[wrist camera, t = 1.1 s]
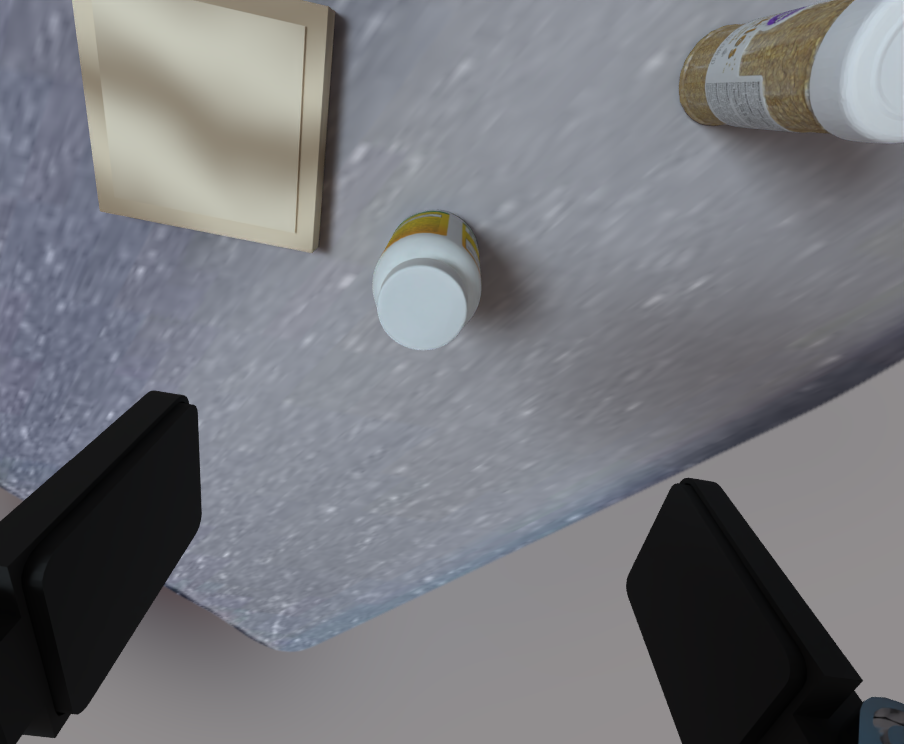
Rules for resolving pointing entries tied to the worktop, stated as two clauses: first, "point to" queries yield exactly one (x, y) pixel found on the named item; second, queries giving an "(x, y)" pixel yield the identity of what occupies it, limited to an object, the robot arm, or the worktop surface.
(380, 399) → the worktop surface
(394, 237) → the supplement bottle
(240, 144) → the cream square tray
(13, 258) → the worktop surface
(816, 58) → the sprinkles bottle
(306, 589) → the worktop surface
